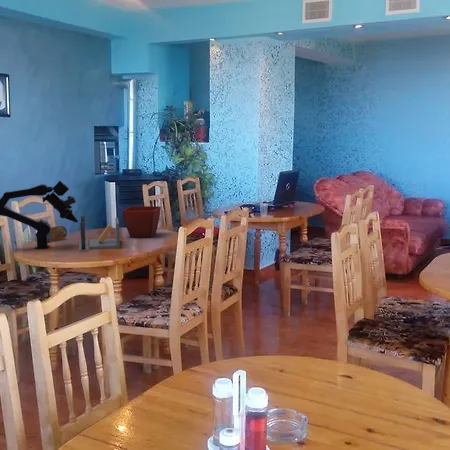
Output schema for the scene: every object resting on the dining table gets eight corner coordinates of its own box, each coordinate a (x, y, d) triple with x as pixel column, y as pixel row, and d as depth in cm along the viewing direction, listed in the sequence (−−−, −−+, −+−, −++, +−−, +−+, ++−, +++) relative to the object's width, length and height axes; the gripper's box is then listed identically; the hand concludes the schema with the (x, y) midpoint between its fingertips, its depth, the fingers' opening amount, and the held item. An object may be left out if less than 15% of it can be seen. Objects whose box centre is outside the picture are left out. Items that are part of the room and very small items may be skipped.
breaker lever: (97, 241, 337) (109, 225, 336) (97, 240, 341) (108, 223, 341) (101, 244, 337) (112, 227, 337) (101, 242, 342) (112, 226, 342)
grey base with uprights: (89, 249, 328) (88, 224, 326) (90, 241, 349) (89, 218, 347) (119, 248, 331) (118, 223, 329) (118, 240, 352) (117, 217, 350)
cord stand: (78, 252, 322) (77, 223, 320) (79, 241, 353) (78, 215, 351) (88, 251, 323) (87, 223, 321) (88, 240, 354) (87, 215, 352)
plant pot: (122, 238, 360) (121, 210, 357) (131, 232, 379) (131, 206, 376) (154, 239, 357) (153, 210, 355) (161, 233, 376) (161, 206, 373)
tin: (46, 243, 348) (45, 228, 346) (43, 242, 350) (42, 228, 348) (67, 239, 359) (66, 225, 358) (64, 238, 361) (63, 224, 360)
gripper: (65, 193, 323) (87, 213, 327) (67, 190, 341) (88, 209, 345) (50, 208, 322) (72, 228, 326) (53, 204, 340) (74, 223, 344)
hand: (77, 221), depth 335 cm, fingers closed
